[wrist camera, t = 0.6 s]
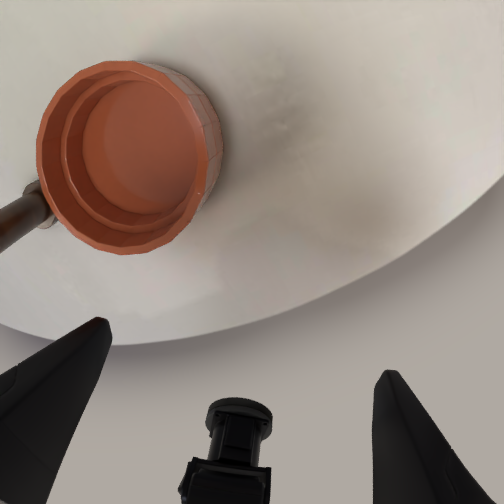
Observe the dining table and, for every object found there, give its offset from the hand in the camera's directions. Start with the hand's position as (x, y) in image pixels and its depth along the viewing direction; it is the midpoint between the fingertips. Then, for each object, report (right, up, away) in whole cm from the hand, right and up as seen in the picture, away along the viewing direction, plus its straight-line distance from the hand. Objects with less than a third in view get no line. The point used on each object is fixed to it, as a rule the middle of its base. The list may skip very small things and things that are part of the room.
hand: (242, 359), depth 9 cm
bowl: (-8, +11, +12) cm, 18 cm away
